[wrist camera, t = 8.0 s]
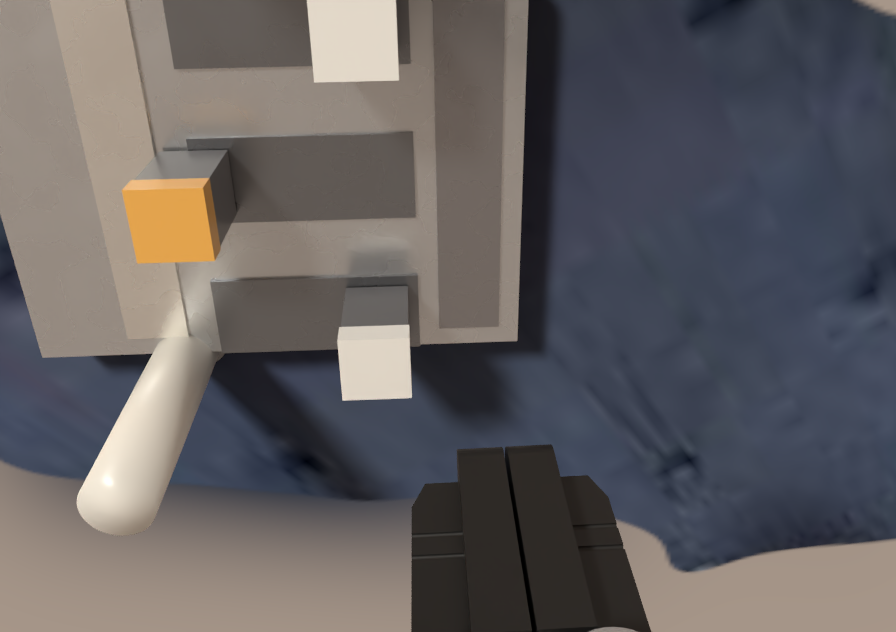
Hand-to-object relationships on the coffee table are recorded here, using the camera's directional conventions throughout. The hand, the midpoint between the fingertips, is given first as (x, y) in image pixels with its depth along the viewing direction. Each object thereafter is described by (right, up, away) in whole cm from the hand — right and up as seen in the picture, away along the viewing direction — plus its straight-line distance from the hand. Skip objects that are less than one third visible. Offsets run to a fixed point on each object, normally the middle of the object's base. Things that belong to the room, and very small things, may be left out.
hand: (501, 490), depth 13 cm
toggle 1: (-12, +9, +24) cm, 28 cm away
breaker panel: (-9, +10, +27) cm, 30 cm away
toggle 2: (-4, +15, +21) cm, 26 cm away
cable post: (-14, +2, +31) cm, 34 cm away
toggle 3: (-4, +3, +27) cm, 28 cm away
